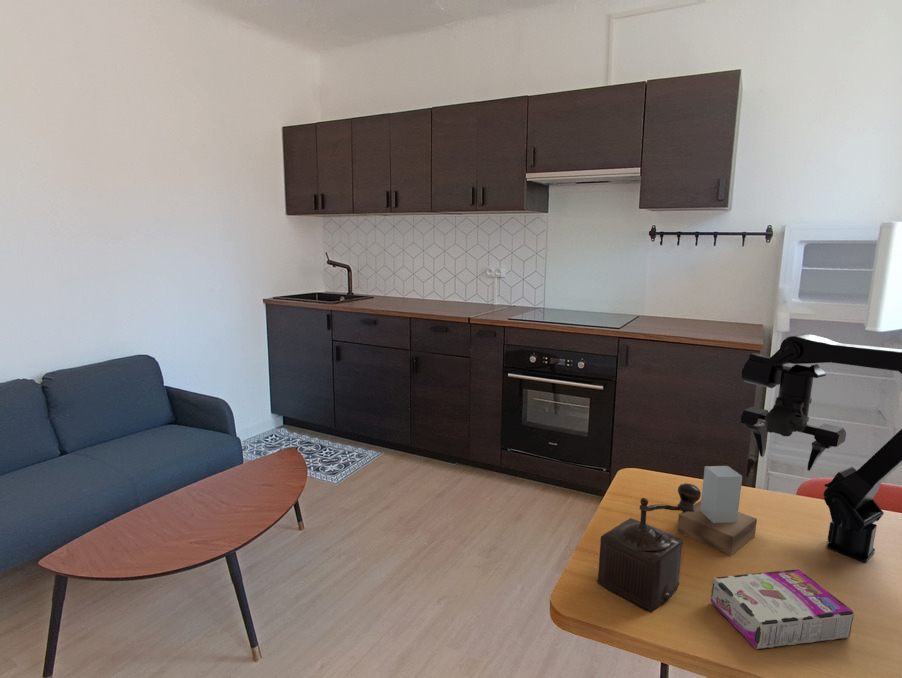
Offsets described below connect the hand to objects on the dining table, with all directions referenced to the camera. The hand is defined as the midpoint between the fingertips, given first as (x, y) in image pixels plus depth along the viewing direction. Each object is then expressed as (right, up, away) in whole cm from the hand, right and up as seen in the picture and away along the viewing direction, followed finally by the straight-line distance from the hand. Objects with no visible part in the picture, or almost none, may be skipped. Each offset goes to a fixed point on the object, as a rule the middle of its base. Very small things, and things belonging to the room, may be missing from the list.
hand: (785, 463), depth 117 cm
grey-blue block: (-17, -10, -5) cm, 20 cm away
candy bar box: (-11, -16, -29) cm, 35 cm away
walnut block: (-17, -14, -4) cm, 22 cm away
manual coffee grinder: (-37, -17, -20) cm, 45 cm away
